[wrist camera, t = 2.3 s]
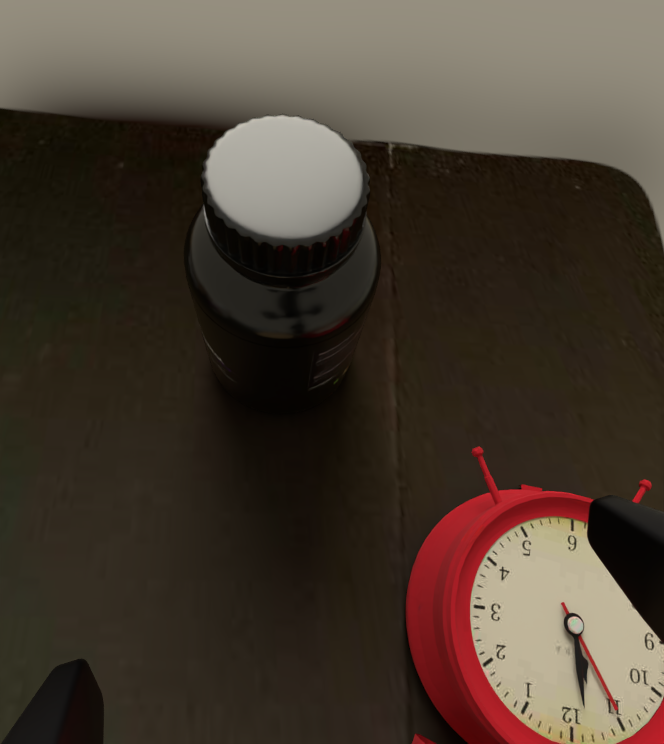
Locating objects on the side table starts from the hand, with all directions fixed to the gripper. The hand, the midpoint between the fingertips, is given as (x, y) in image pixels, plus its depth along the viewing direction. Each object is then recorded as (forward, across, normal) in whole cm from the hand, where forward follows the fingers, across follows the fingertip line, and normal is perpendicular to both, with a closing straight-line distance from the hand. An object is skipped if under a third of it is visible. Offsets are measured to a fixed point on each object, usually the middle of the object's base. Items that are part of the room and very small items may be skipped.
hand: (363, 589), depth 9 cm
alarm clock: (+6, -8, +13) cm, 17 cm away
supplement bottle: (+18, -1, +2) cm, 18 cm away
